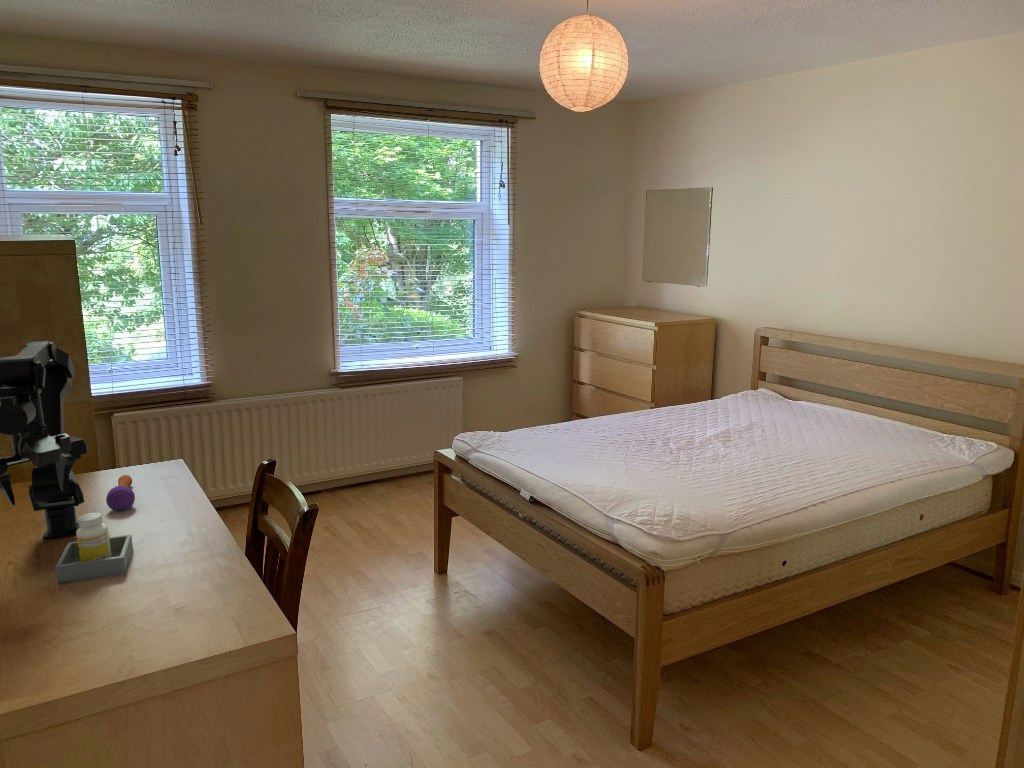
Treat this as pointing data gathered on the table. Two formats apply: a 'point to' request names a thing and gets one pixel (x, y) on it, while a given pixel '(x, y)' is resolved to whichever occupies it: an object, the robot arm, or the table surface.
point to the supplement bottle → (93, 538)
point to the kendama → (121, 495)
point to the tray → (94, 562)
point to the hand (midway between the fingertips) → (38, 497)
